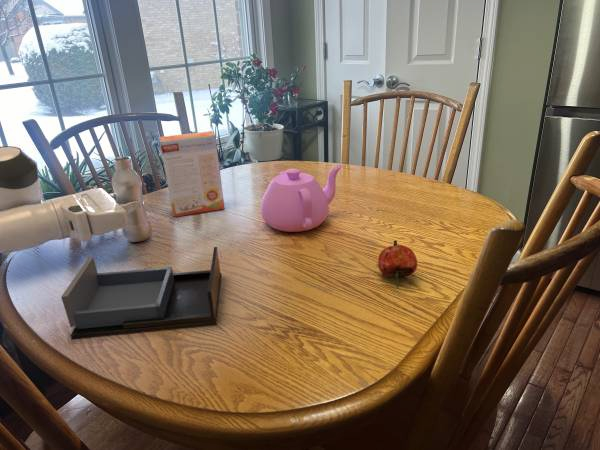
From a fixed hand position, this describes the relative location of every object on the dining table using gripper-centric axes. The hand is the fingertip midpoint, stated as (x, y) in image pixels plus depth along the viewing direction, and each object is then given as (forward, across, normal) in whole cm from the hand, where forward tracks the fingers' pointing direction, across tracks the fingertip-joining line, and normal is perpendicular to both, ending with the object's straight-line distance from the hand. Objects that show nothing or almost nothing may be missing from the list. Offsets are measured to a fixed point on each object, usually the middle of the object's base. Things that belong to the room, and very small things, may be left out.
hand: (134, 199), depth 102 cm
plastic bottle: (-1, 0, -10) cm, 10 cm away
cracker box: (+18, -7, -10) cm, 22 cm away
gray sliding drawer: (-12, +27, -9) cm, 31 cm away
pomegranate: (+32, +52, -10) cm, 62 cm away
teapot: (+36, +18, -10) cm, 41 cm away
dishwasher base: (-8, +30, -10) cm, 32 cm away
